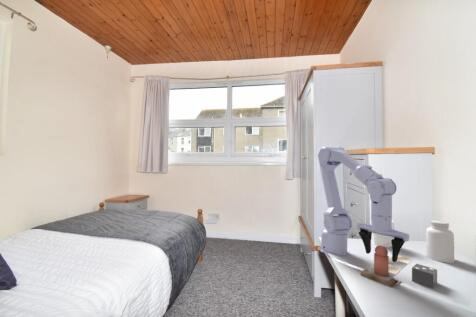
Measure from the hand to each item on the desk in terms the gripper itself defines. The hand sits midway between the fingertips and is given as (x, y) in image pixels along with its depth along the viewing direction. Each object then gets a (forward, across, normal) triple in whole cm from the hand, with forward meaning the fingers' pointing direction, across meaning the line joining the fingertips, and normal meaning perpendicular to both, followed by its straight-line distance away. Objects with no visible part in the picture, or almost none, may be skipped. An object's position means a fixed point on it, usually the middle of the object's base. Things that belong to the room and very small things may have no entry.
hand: (380, 256), depth 72 cm
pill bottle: (+7, -9, -32) cm, 34 cm away
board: (+6, 0, -10) cm, 12 cm away
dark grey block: (+6, -10, -5) cm, 13 cm away
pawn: (+6, 0, 0) cm, 6 cm away
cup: (+7, +10, -30) cm, 33 cm away
